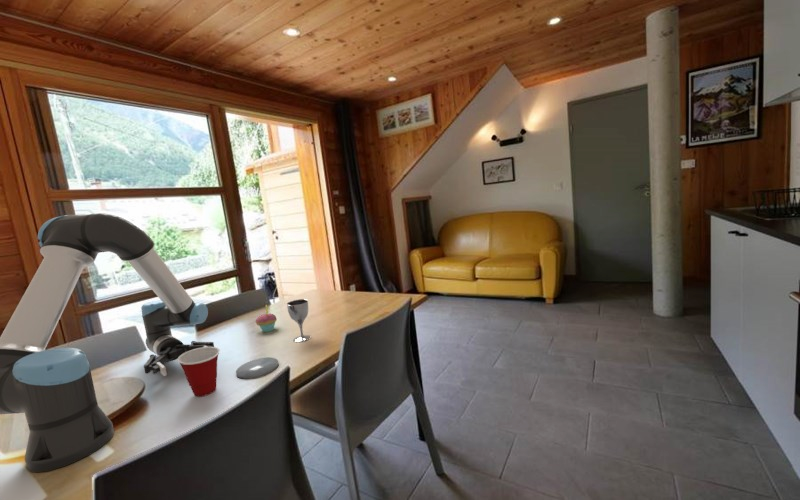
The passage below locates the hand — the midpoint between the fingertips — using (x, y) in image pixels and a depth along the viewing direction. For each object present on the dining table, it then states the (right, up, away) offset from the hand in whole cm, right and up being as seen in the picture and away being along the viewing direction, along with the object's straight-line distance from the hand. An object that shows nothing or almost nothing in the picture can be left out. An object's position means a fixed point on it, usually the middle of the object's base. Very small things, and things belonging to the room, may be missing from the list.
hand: (189, 362), depth 109 cm
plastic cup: (+9, -7, -6) cm, 13 cm away
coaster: (+19, -4, +6) cm, 20 cm away
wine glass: (+27, 0, +29) cm, 40 cm away
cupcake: (+8, 0, +43) cm, 44 cm away
